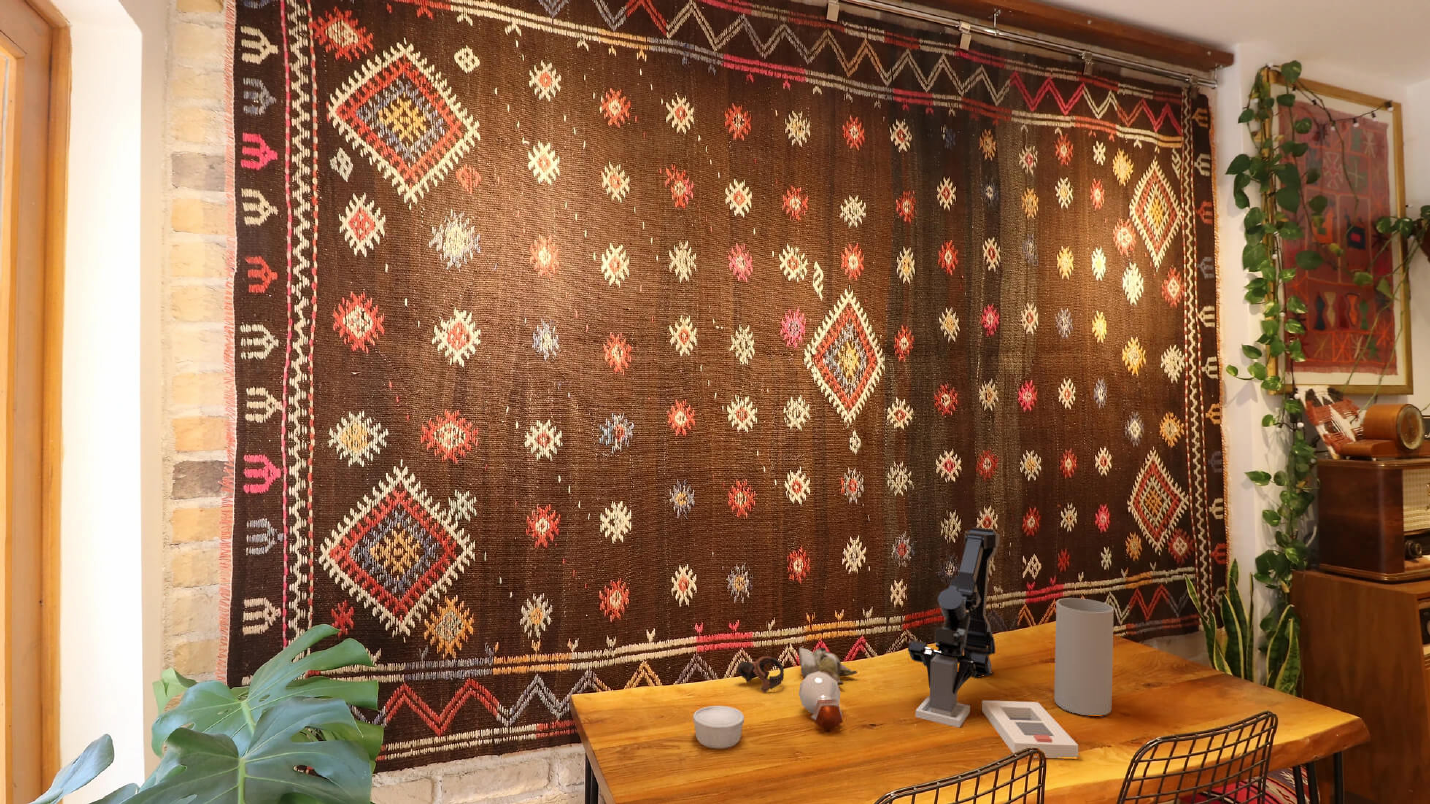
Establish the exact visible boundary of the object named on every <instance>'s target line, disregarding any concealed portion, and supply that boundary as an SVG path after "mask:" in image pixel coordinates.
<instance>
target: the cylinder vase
mask: <svg viewBox="0 0 1430 804" xmlns="http://www.w3.org/2000/svg"><path fill="white" fill-rule="evenodd" d="M1055 604H1056V606H1055V607H1056V609H1055V613H1056V614H1055V651H1054V653H1055V659H1054V660H1055V661H1054V702H1055V704H1056V706H1058V707H1059V708H1060V707H1061V708H1060V709H1063V711H1066V710H1067V711H1066V712H1068V711H1069V712H1068V713H1071V712H1072V713H1071V714H1074V713H1077V714H1081V715H1080V716H1082V715H1105V716H1107V715H1109V714H1110V713H1111V711H1112V708H1113V707H1112V703H1113V702H1112V701H1113V698H1112V697H1113V696H1112V695H1113V656H1114V653H1113V650H1114V649H1113V645H1114V614H1115V613H1114V612H1115V611H1114V607H1113V605H1110V604H1108V603H1105V602H1101V601H1098V600H1094V599H1087V598H1077V597H1075V598H1074V597H1066V598H1060V599H1058V600H1056V603H1055ZM1108 713H1109V714H1108ZM1077 714H1076V715H1077ZM1106 714H1107V715H1106Z"/></svg>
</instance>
